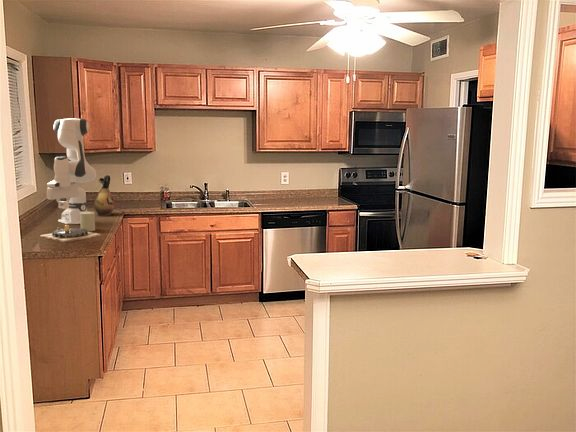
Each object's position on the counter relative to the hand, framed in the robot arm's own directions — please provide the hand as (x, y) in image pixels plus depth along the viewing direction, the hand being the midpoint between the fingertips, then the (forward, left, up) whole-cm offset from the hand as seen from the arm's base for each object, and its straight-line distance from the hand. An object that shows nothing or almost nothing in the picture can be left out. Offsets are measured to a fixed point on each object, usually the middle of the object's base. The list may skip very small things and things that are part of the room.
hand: (63, 205), depth 332 cm
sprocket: (+6, 0, -17) cm, 18 cm away
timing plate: (+5, 0, -19) cm, 19 cm away
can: (-3, +19, -19) cm, 27 cm away
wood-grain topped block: (0, 0, -2) cm, 2 cm away
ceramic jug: (-41, +65, -19) cm, 79 cm away
